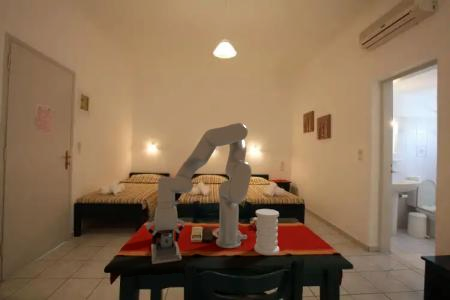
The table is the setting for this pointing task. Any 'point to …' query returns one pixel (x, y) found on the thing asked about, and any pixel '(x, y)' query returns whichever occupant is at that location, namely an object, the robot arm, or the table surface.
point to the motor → (158, 233)
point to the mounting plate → (165, 253)
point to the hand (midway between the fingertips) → (165, 242)
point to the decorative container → (267, 232)
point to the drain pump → (166, 240)
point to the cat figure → (254, 222)
